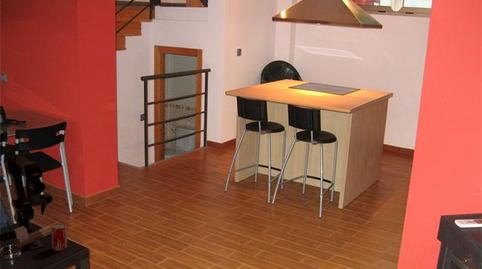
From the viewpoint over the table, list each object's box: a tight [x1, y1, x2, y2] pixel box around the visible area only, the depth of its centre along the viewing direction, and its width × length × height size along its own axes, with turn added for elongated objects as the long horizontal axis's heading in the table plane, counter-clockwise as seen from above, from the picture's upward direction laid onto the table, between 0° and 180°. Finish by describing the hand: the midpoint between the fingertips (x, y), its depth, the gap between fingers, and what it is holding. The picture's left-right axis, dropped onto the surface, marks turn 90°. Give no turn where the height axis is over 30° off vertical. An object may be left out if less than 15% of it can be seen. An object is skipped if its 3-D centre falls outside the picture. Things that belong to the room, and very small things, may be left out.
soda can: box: [51, 223, 68, 252], centre depth 255 cm, size 7×7×12 cm
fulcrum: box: [26, 239, 45, 250], centre depth 259 cm, size 8×6×4 cm
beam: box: [13, 225, 53, 249], centre depth 258 cm, size 6×18×2 cm, turn 129°
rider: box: [13, 226, 29, 243], centre depth 254 cm, size 4×4×6 cm
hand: (33, 216), depth 262 cm, fingers open, 9 cm apart
